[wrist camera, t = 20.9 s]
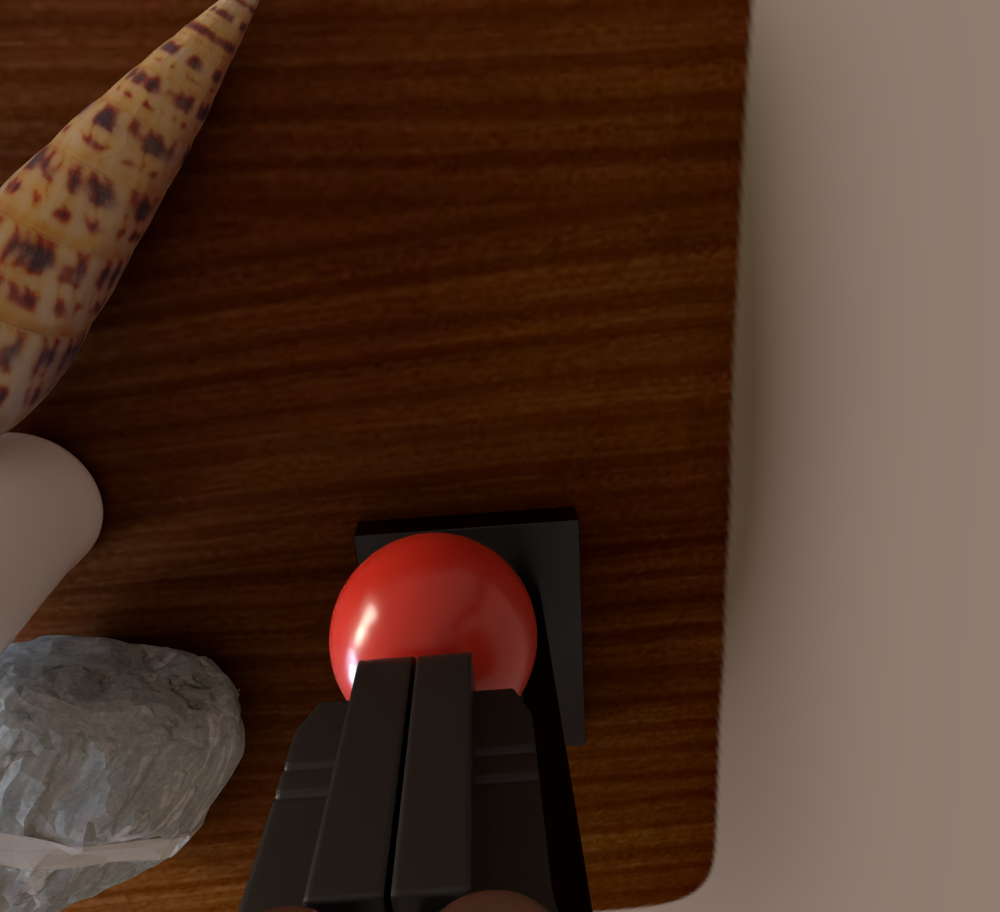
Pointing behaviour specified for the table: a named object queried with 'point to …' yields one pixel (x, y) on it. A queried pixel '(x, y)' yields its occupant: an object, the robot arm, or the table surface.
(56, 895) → the decorative stone
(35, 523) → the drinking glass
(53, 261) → the seashell
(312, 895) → the robot arm
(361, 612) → the lever
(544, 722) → the bracket
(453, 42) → the table surface
